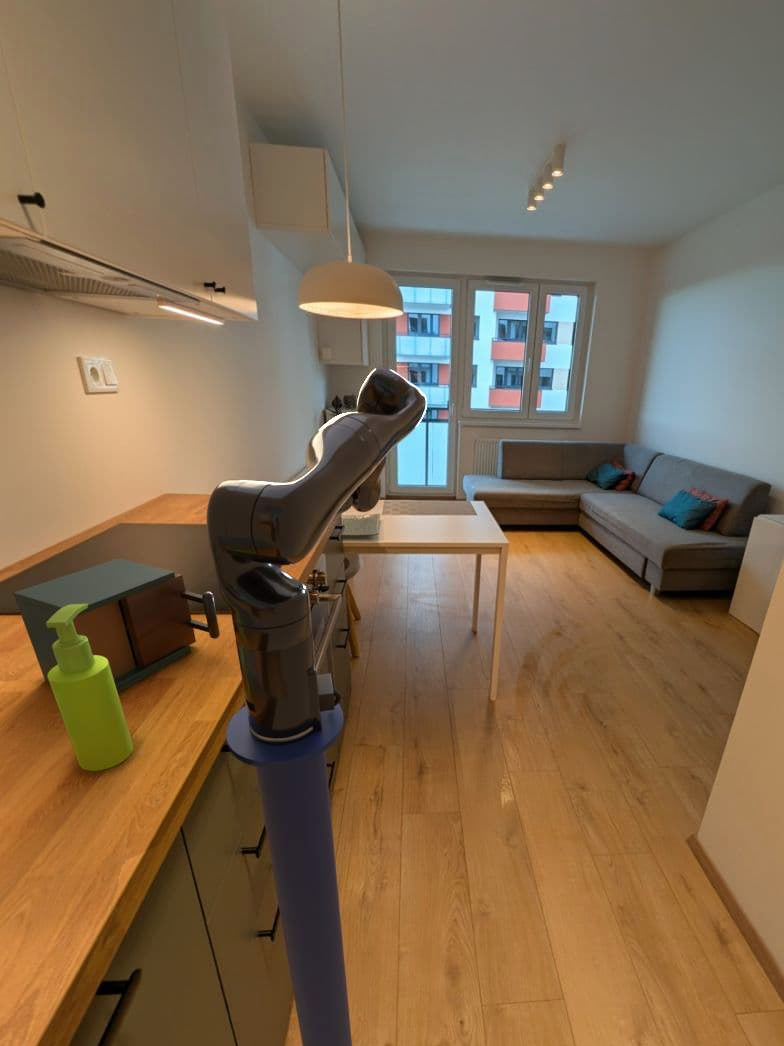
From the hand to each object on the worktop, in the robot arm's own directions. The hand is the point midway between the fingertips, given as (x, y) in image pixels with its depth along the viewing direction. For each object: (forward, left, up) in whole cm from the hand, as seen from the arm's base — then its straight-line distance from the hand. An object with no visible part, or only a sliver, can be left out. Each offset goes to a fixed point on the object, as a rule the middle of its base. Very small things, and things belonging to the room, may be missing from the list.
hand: (251, 528), depth 89 cm
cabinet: (+22, +9, -19) cm, 31 cm away
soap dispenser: (+18, +31, -20) cm, 41 cm away
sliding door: (+13, +10, -19) cm, 25 cm away
